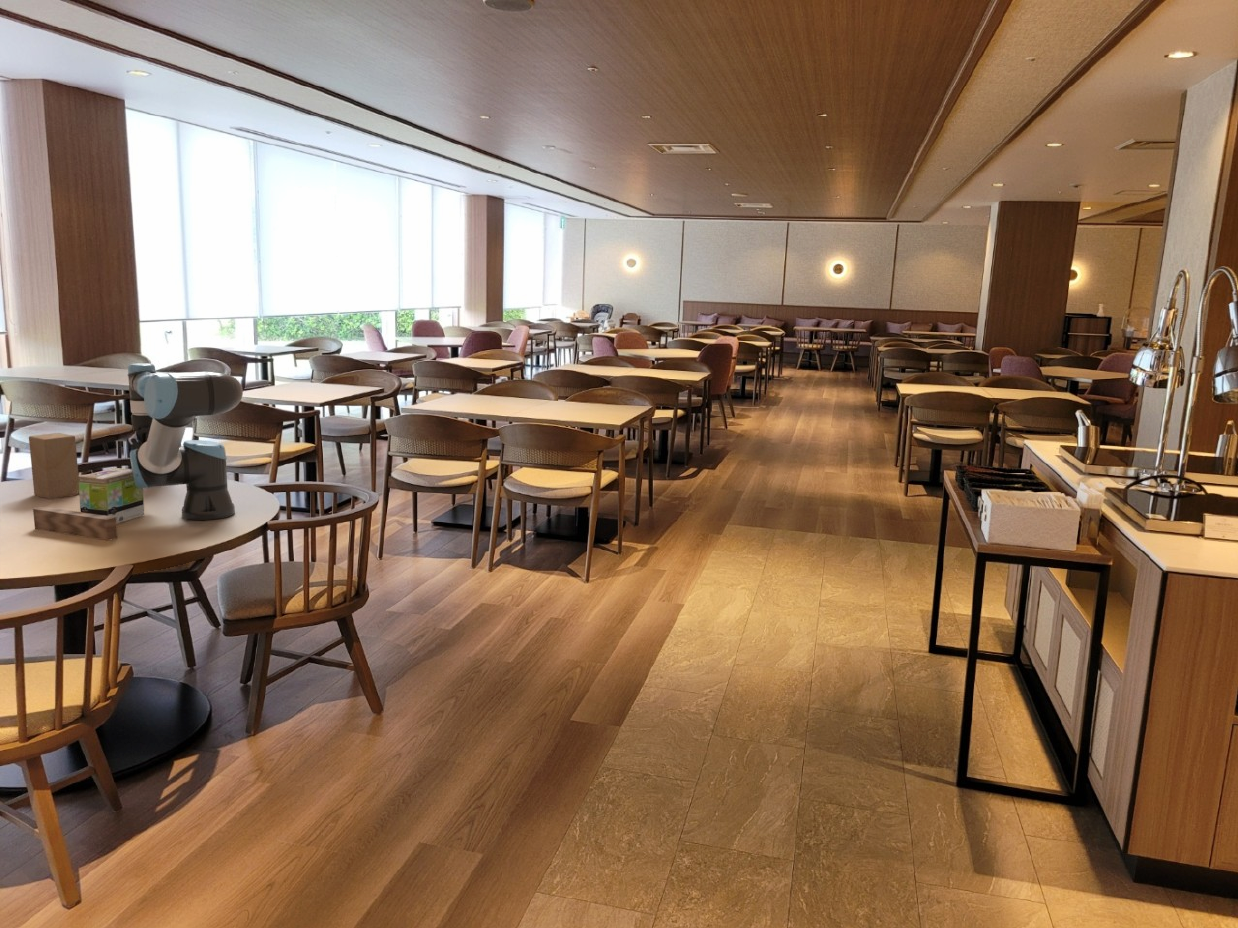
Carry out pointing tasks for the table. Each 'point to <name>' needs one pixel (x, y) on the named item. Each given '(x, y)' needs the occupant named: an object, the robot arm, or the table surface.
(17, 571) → the table surface
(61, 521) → the walnut plank
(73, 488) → the wooden block
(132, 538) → the table surface
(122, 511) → the tea box
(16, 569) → the table surface
